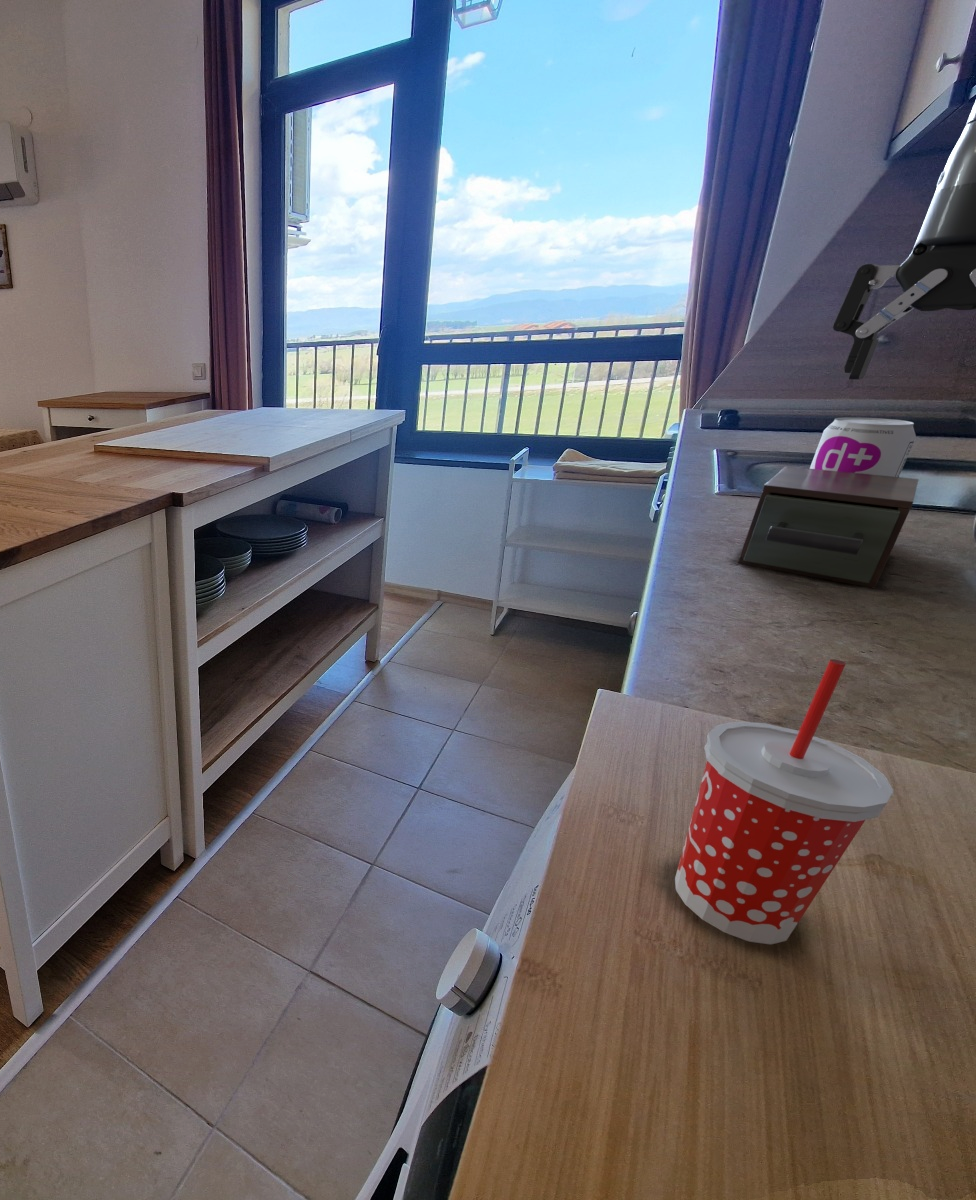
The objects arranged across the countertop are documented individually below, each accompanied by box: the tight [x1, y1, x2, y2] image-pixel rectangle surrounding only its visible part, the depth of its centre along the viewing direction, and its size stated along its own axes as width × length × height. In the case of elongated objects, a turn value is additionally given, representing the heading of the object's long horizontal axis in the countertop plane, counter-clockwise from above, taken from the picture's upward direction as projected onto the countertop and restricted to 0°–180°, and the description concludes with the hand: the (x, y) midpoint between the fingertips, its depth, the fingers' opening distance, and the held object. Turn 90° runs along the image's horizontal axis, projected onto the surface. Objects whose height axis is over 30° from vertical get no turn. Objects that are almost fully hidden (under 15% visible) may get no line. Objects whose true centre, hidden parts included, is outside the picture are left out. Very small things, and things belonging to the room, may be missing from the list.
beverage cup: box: [674, 658, 895, 945], centre depth 29 cm, size 6×6×14 cm
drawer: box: [744, 494, 900, 583], centre depth 71 cm, size 19×10×8 cm, turn 131°
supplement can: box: [809, 417, 917, 477], centre depth 82 cm, size 8×8×15 cm
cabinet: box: [737, 465, 919, 589], centre depth 74 cm, size 15×12×10 cm
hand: (917, 380), depth 60 cm, fingers open, 8 cm apart
